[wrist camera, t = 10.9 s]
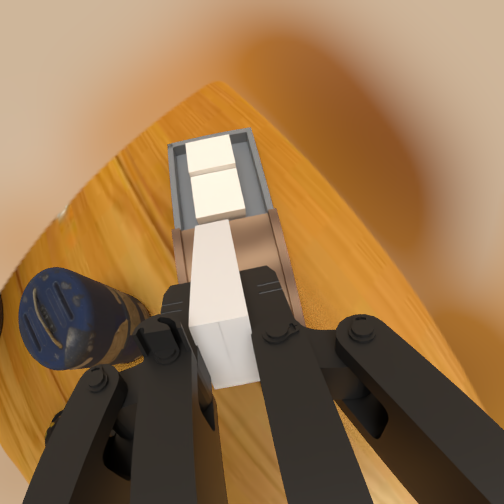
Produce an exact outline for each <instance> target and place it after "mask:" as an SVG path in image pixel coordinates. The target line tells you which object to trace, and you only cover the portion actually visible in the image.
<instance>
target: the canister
mask: <svg viewBox="0 0 504 504" xmlns="http://www.w3.org/2000/svg"><path fill="white" fill-rule="evenodd" d="M149 317H150V316H149V313H148V311H147V310H146V308H145V307H144V305H143V304H142V303H141V302H140V301H139V300H137V299H136V298H134V297H133V296H130V295H128V294H126V293H123V292H121V291H119V290H116V289H114V288H111V287H109V286H107V285H105V284H102V283H100V282H97V281H94V280H92V279H90V278H87V277H85V276H83V275H80V274H78V273H76V272H73V271H70V270H68V269H64V268H59V267H53V268H48V269H45V270H43V271H41V272H40V273H38V274H37V275H36V276H35V277H34V278H33V279H32V280H31V281H30V282H29V284H28V285H27V287H26V288H25V290H24V293H23V295H22V298H21V301H20V307H19V329H20V333H21V337H22V339H23V342H24V344H25V346H26V348H27V350H28V351H29V353H30V354H31V356H32V357H33V358H34V359H35V360H37V361H38V362H39V363H40V364H41V365H43V366H45V367H47V368H50V369H52V370H67V369H70V370H72V369H82V368H91V367H93V366H96V365H99V364H109V365H116V364H123V363H129V362H132V361H135V360H137V359H138V358H140V357H141V356H142V353H141V351H140V350H139V348H138V346H137V344H136V343H135V341H134V339H133V337H132V333H133V331H134V329H135V328H136V327H137V326H138V325H139V324H140V323H141V322H142V321H144V320H146V319H147V318H149Z"/></svg>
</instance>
